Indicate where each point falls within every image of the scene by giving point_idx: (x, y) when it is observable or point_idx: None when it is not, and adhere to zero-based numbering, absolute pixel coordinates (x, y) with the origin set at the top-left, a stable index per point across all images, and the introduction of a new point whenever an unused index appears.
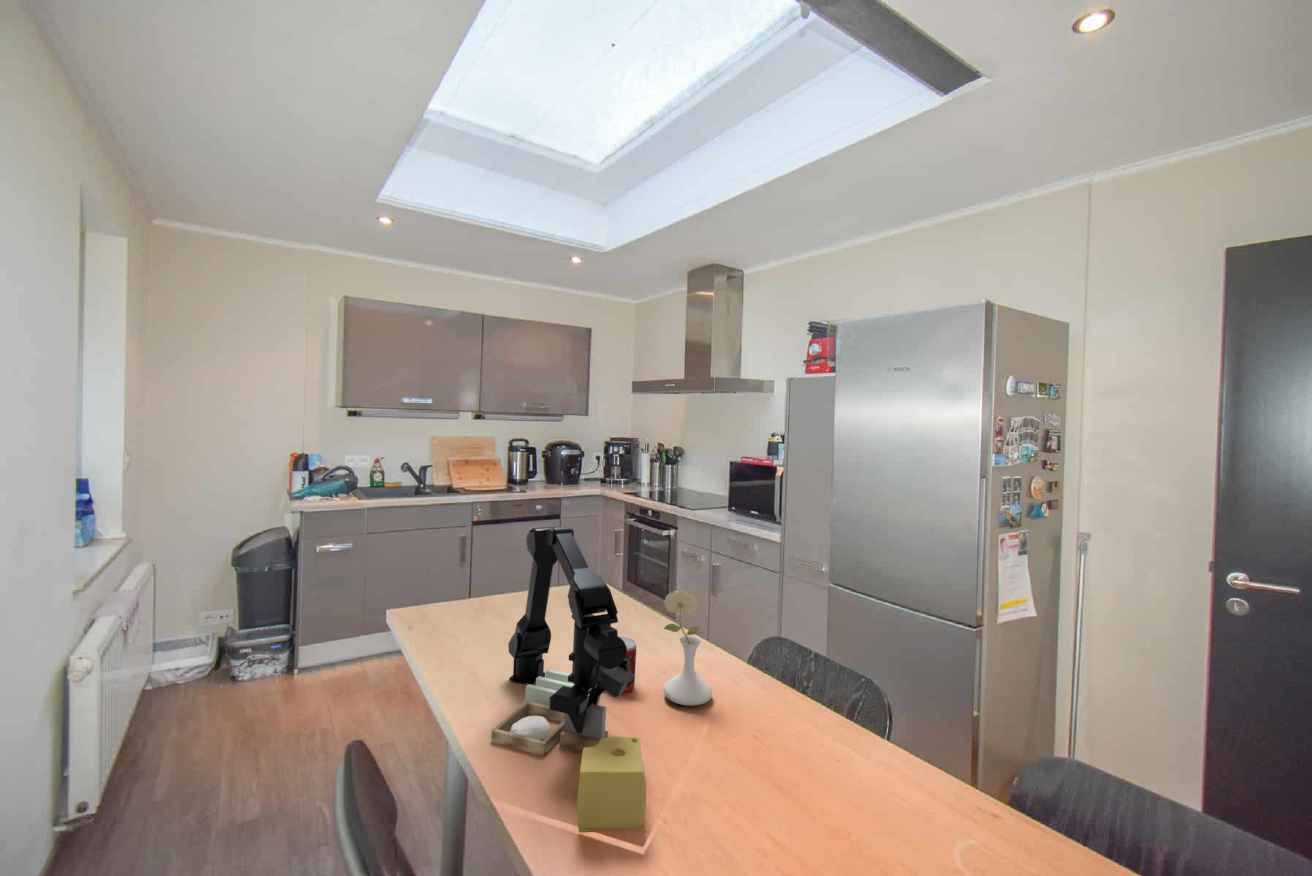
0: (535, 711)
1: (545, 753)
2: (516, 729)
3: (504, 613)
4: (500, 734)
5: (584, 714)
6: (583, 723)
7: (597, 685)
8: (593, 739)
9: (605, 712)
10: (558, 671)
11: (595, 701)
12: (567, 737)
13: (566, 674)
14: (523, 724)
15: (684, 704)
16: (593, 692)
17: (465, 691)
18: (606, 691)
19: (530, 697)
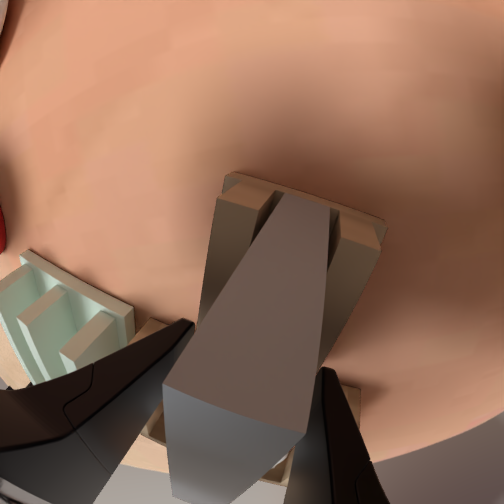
0: (154, 414)
1: (349, 398)
2: (273, 466)
3: (6, 375)
4: None
5: (360, 494)
6: (339, 420)
7: (14, 485)
8: (331, 281)
9: (209, 330)
10: (29, 377)
11: (106, 413)
12: None
13: (24, 365)
14: None
15: (4, 13)
16: (69, 466)
17: (145, 453)
18: (5, 240)
19: None
